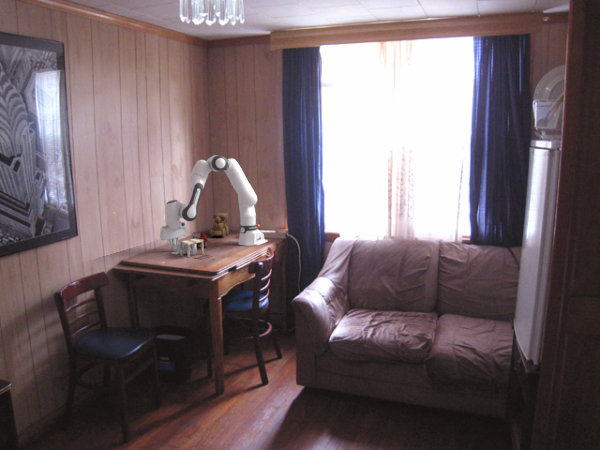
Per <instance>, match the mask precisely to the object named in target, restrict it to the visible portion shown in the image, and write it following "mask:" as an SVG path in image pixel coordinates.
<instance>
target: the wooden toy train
mask: <svg viewBox="0 0 600 450" xmlns="http://www.w3.org/2000/svg"><path fill="white" fill-rule="evenodd" d="M213 219H214V223H213V226H212V228H210V231H209V234H210V237H211V238H214V237H215V236H217V237H218V236H220V237H221V236H222V238H226V236H228V235H229V233H230V228H229V226H228V219H229V213H227V212H217V213H214V214H213Z"/></svg>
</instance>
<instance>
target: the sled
mask: <svg viewBox="0 0 600 450" xmlns="http://www.w3.org/2000/svg"><path fill="white" fill-rule="evenodd" d="M171 241H172V242H173V245H171V248H172V249H171V250H174V251H177V253H180V242H178V244H176V238H173V239H172V240H171ZM186 254H187V244H183V255H186ZM190 254H197V253H196V243H194V244H190Z"/></svg>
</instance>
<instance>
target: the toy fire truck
mask: <svg viewBox="0 0 600 450" xmlns="http://www.w3.org/2000/svg"><path fill="white" fill-rule="evenodd" d="M191 236H192V239H195V238H196V239H201V240H203V244H204V248H207V247H208V246H209V240H208V237H207V235H206V234H205V233H204V232H202V233H201V232H192V233H191ZM196 244H197V248H199V249H200V248H201V242H198V243H196Z"/></svg>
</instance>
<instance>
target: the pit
mask: <svg viewBox="0 0 600 450" xmlns="http://www.w3.org/2000/svg"><path fill="white" fill-rule="evenodd" d="M211 256H212V257H213V255H212V254H205V253H204V254H201V255H198V256H194V259H196V258H197V260H204V259H207V257H208V258H211Z"/></svg>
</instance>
